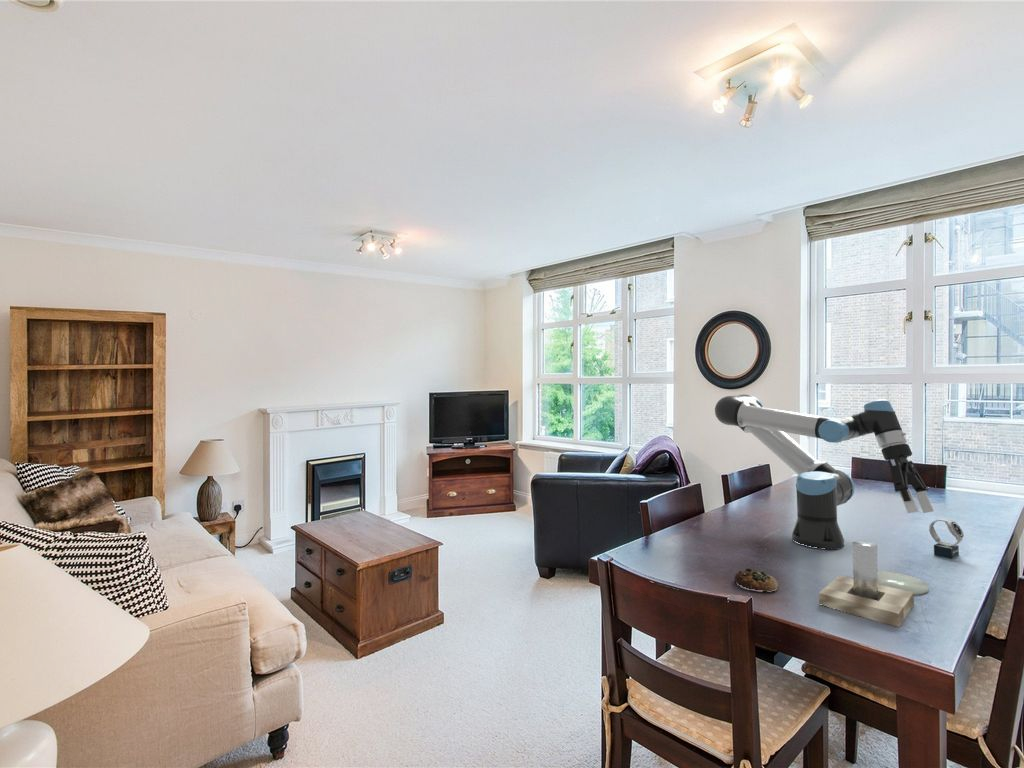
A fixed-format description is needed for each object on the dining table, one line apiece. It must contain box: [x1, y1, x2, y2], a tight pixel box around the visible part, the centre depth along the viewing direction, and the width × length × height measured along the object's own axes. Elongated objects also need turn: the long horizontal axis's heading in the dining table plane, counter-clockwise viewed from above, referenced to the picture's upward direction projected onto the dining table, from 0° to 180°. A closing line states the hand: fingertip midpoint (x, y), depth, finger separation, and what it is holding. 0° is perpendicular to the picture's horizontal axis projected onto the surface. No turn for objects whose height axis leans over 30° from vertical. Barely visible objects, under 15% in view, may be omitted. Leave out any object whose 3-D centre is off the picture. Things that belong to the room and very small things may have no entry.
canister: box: [851, 540, 879, 601], centre depth 124 cm, size 5×5×15 cm
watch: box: [928, 518, 964, 560], centre depth 157 cm, size 6×8×11 cm
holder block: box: [818, 575, 915, 628], centre depth 124 cm, size 16×16×3 cm
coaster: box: [878, 570, 930, 596], centre depth 136 cm, size 14×14×1 cm
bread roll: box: [733, 567, 779, 592], centre depth 138 cm, size 11×11×5 cm
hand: (921, 512), depth 156 cm, fingers open, 13 cm apart
